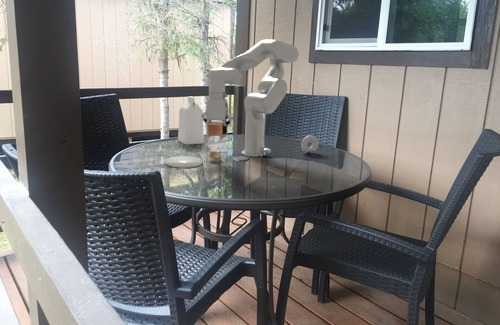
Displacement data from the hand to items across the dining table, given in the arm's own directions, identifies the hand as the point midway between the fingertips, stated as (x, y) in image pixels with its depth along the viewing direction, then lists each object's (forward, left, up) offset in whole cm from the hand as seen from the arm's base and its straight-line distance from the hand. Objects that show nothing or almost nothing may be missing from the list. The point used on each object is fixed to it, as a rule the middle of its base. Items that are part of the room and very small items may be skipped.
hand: (216, 133), depth 199 cm
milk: (+31, -34, -14) cm, 48 cm away
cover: (0, 0, -2) cm, 2 cm away
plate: (+11, +12, -13) cm, 21 cm away
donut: (-38, -38, -14) cm, 56 cm away
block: (0, +1, -14) cm, 13 cm away
